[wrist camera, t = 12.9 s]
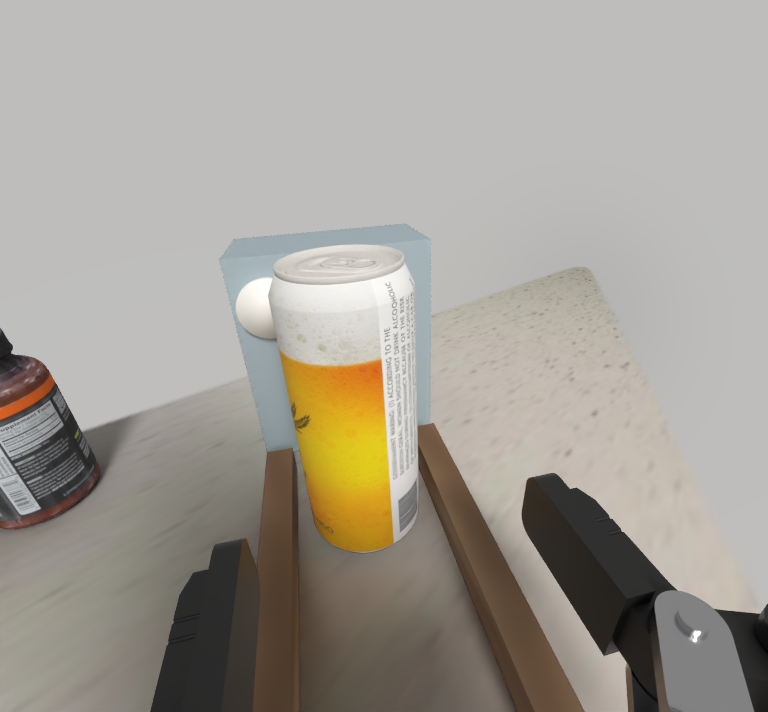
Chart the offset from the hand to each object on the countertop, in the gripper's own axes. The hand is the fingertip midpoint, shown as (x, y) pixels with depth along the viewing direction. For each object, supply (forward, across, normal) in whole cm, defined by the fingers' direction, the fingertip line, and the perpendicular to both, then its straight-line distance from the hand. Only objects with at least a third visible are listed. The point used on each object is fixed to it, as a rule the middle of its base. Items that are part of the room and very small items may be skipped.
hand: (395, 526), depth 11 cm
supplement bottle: (+15, +20, +10) cm, 27 cm away
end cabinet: (+18, 0, +9) cm, 20 cm away
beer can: (+9, 0, +10) cm, 13 cm away
